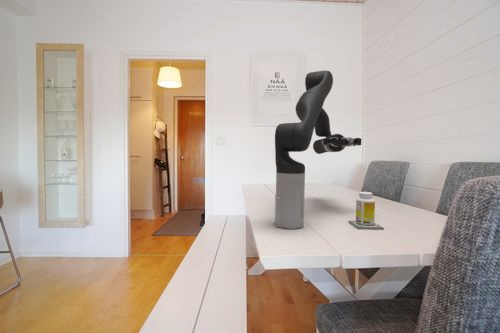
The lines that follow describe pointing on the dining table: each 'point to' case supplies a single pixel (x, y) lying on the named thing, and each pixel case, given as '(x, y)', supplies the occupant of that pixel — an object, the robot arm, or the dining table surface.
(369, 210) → the supplement bottle
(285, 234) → the dining table surface
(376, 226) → the slate tile
